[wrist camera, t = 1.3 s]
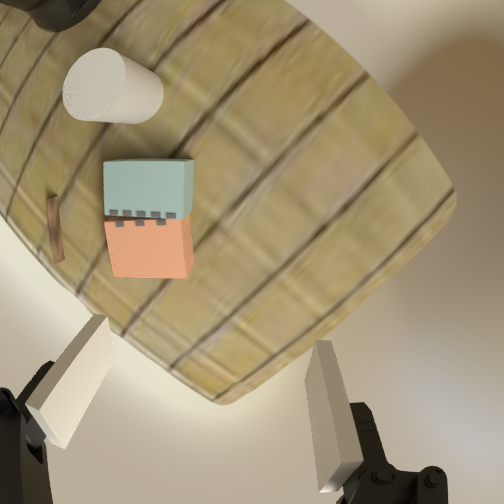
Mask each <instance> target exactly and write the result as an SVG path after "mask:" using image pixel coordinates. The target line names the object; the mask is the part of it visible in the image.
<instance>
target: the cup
mask: <svg viewBox="0 0 504 504" xmlns="http://www.w3.org/2000/svg"><path fill="white" fill-rule="evenodd" d="M163 97H164V88H163V84H162V81H161V80H160V78H159V77H158V76H157V75H156V74H155V73H153V72H152V71H150V70H148V69H146V68H145V67H143V66H141V65H140V64H138V63H136V62H134V61H132V60H131V59H129V58H127V57H125V56H123V55H122V54H120V53H118V52H116V51H114V50H112V49H109V48H97V49H94V50H91V51H89V52H87V53H85V54H84V55H83V56H81V57H80V58H79V59H78V60H77V61H76V62H75V63H74V64H73V66H72V67H71V69H70V70H69V72H68V74H67V76H66V79H65V82H64V86H63V102H64V105H65V108H66V110H67V111H68V113H69V114H70V115H71V116H72V117H74V118H76V119H78V120H82V121H99V122H112V123H124V124H139V123H143V122H145V121H147V120H148V119H150V118H151V117H152V116H153V115H154V114H155V113H156V112H157V111H158V109H159V108H160V106H161V104H162V101H163Z"/></svg>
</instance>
